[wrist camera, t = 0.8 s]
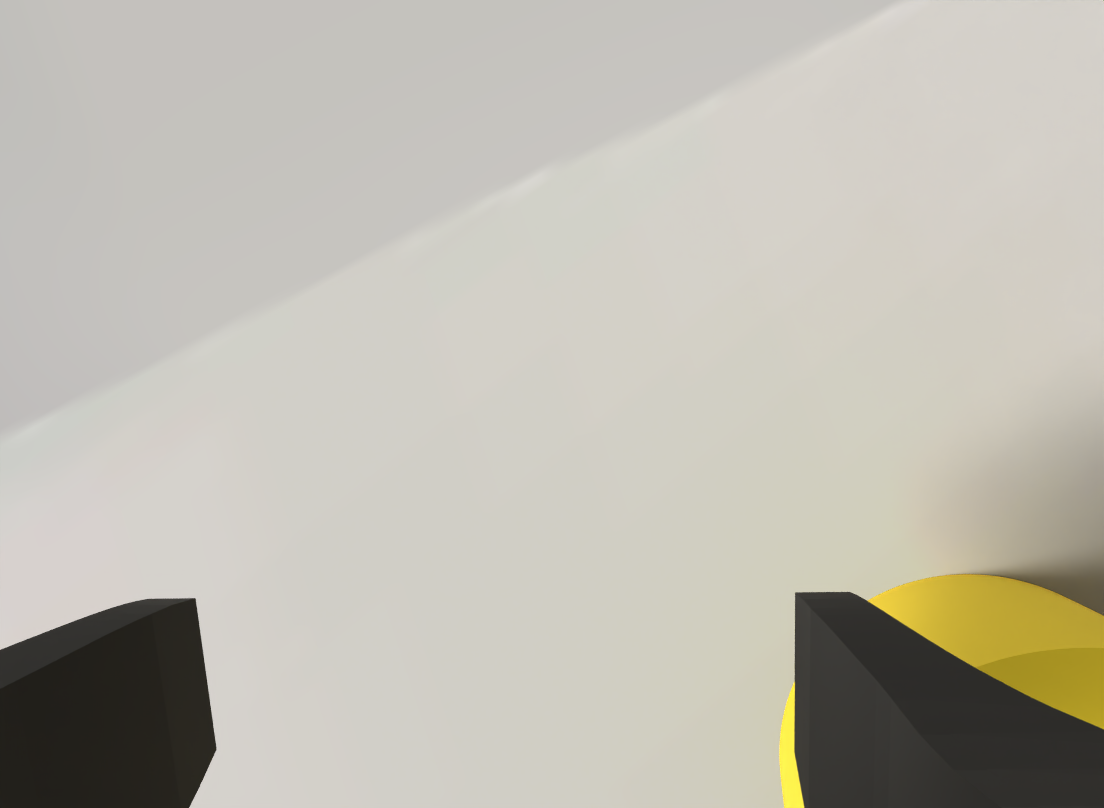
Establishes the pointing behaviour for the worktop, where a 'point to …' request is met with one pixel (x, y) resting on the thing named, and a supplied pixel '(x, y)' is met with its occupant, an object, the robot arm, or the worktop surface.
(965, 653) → the tape roll
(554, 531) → the worktop surface
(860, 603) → the robot arm
